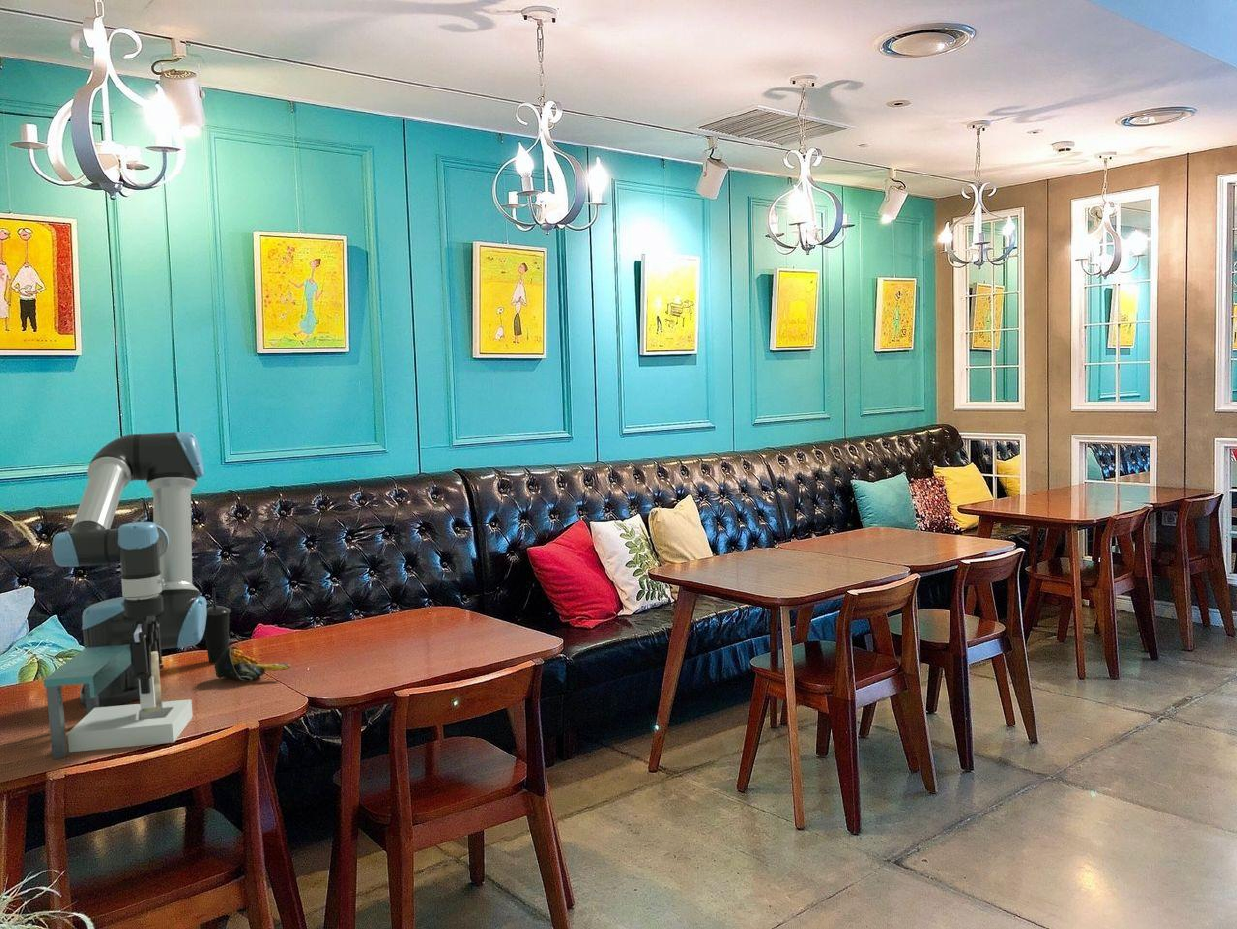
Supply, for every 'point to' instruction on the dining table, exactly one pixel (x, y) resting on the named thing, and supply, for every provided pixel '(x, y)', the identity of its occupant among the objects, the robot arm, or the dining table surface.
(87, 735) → the socket block
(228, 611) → the drinking cup
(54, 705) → the teal miniature table
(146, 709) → the wooden peg
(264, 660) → the dining table surface
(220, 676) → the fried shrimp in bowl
